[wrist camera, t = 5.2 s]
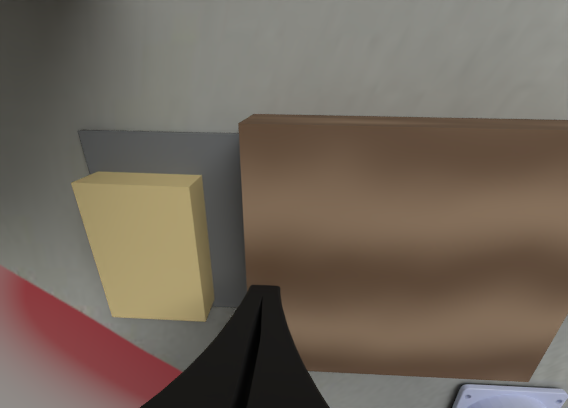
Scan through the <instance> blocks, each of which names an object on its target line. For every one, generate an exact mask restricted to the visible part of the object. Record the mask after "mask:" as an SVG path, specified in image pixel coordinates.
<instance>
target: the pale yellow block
mask: <svg viewBox="0 0 568 408" xmlns="http://www.w3.org/2000/svg"><path fill="white" fill-rule="evenodd" d="M71 185H72V188H73V191H74V194H75V197H76V201H77V204H78V207H79V210H80V214H81V217H82V220H83V223H84V227H85V230H86V233H87V236H88V240H89V243H90V246H91V249H92V253H93V256H94V259H95V262H96V265H97V269H98V272H99V275H100V278H101V282H102V285H103V288H104V291H105V295H106V298H107V301H108V304H109V308H110V311H111V314H112V317H123V318H143V319H162V320H182V321H202V322H206V320H207V317H208V315H209V312H210V309H211V307H212V304H213V302H214V299H215V298H214V288H213V278H212V269H211V259H210V249H209V239H208V230H207V220H206V210H205V201H204V191H203V181H202V175H185V174H156V173H128V172H99V171H98V172H95V173H93V174H91V175H88V176H86V177H84V178H81V179H79V180H77V181H74V182H72V183H71Z"/></svg>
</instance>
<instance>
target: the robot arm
mask: <svg viewBox="0 0 568 408" xmlns="http://www.w3.org/2000/svg"><path fill="white" fill-rule="evenodd" d="M567 398H568V394H567V393H566V392H565V391H564V390H563V389H556V388H536V387H517V386H497V385H477V384H465V385H463V386H461V388H460V390H459V393H458V395H457V397H456V400H455V402H454V404H453V407H452V408H561V407H562V405H563V404H564V402H565V401H566V399H567ZM140 408H330V407H329V406H328V404H327V403H326V401H325V400H324V398H323V397H322V395H321V393H320V392H319V390H318V389H317V387H316V385H315V383H314V382H313V380H312V378H311V376H310V374H309V373H308V371H307V369H306V367H305V365H304V363H303V361H302V359H301V357H300V355H299V353H298V350H297V348H296V346H295V343H294V341H293V338H292V336H291V333H290V330H289V327H288V325H287V321H286V318H285V314H284V311H283V307H282V302H281V294H280V287H279V286H272V285H251V286H250V287H249V290H248V291H247V293H246V295H245V297H244V299H243V300H242V302H241V304H240V305H239V307H238V308H237V310H236V311H235V313H234V314H233V316H232V317H231V319H230V320H229V321H228V323H227V324H226V325H225V327H224V328H223V329H222V330H221V332H220V333H219V334H218V336H217V337H216V338H215V339H214V340H213V342H212V343H211V344H210V345H209V346H208V347H207V348H206V349H205V351H204V352H203V353H202V354H201V355H200V356H199V357H198V358H197V359H196V360H195V361H194V362H193V363H192V364H191V365H190V366H189V367H188V368H187V369H186V370H185V371H184V372H183V373H181V374H180V375H179V376H178V377H177V378H176V379H175V380H174V381H172V382H171V383H170V384H169V385H168V386H167V387H165V388H164V389H163V390H162V391H161V392H160V393H158V394H157V395H156V396H154V397H153V398H152V399H151V400H149V401H148V402H147V403H145V404H144V405H143V406H141V407H140Z"/></svg>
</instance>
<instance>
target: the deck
mask: <svg viewBox="0 0 568 408" xmlns="http://www.w3.org/2000/svg"><path fill="white" fill-rule="evenodd" d="M238 124H239V144H240V164H241V183H242V203H243V223H244V242H245V262H246V281H247V291H248V290H249V287H250V286H251V285H272V286H279V287H280V294H281V302H282V307H283V311H284V314H285V318H286V321H287V325H288V327H289V330H290V333H291V336H292V338H293V341H294V343H295V346H296V348H297V350H298V353H299V355H300V357H301V359H302V361H303V363H304V365H305V367H306V369H307V371H319V372H339V373H359V374H379V375H399V376H419V377H438V378H458V379H478V380H498V381H518V382H529V380H530V378H531V376H532V375H533V373H534V371H535V370H536V368H537V366H538V364H539V363H540V361H541V359H542V357H543V356H544V354H545V352H546V350H547V349H548V347H549V345H550V344H551V342H552V340H553V338H554V337H555V335H556V333H557V331H558V330H559V328H560V326H561V324H562V323H563V321H564V319H565V318H566V316H567V314H568V120H534V119H482V118H430V117H378V116H327V115H275V114H253V115H251V116H250V117H248V118H246V119H245V120H243V121H242V122H240V123H238Z"/></svg>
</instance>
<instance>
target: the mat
mask: <svg viewBox="0 0 568 408" xmlns="http://www.w3.org/2000/svg"><path fill="white" fill-rule="evenodd" d="M78 134H79V137H80V141H81V144H82V148H83V151H84V155H85V158H86V162H87V165H88V169H89V173H90V175H91V174H93V173H95V172H98V171H99V172H128V173H156V174H185V175H202V181H203V191H204V201H205V210H206V220H207V230H208V239H209V249H210V259H211V269H212V278H213V288H214V298H215V299H214V302H213V304H212V306H217V307H239V305H240V304H241V302H242V300H243V299H244V297H245V295H246V293H247V281H246V262H245V242H244V223H243V203H242V183H241V164H240V144H239V133H201V132H155V131H109V130H79V131H78Z"/></svg>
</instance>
